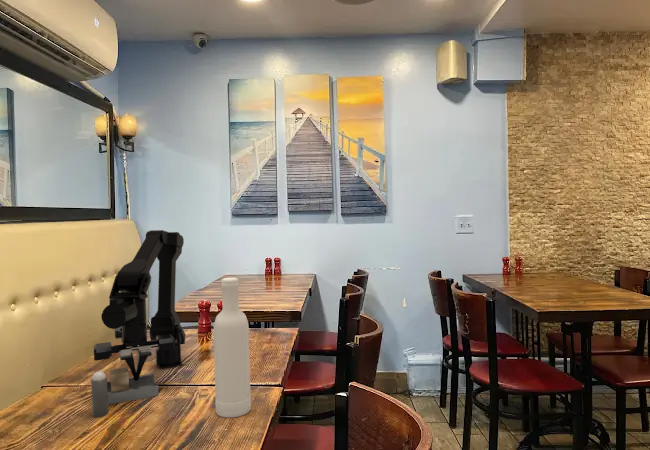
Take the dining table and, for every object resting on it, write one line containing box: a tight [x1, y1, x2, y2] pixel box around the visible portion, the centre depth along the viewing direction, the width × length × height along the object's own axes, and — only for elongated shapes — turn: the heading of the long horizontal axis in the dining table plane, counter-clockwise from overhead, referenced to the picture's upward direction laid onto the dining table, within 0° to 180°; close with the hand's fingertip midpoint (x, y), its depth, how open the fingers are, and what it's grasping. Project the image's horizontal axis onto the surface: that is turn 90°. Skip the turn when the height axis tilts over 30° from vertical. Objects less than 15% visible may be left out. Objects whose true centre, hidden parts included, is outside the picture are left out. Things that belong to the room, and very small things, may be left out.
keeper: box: [109, 366, 130, 392], centre depth 116 cm, size 4×4×5 cm
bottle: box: [213, 277, 252, 418], centre depth 105 cm, size 8×8×30 cm
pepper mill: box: [90, 370, 109, 418], centre depth 105 cm, size 3×3×10 cm
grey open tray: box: [94, 370, 159, 406], centre depth 117 cm, size 14×10×6 cm
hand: (136, 380), depth 118 cm, fingers closed
